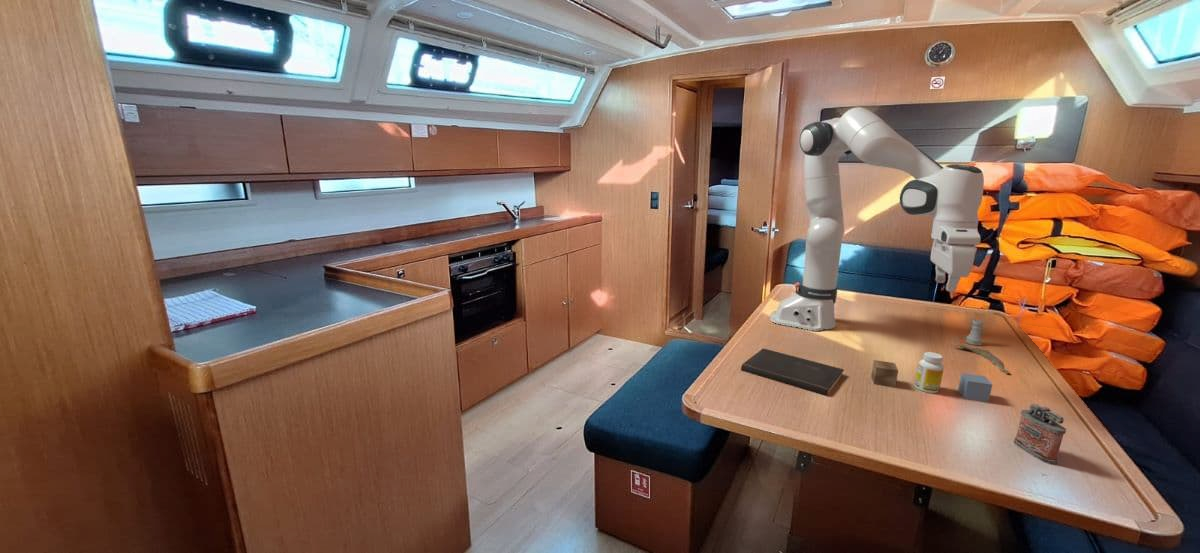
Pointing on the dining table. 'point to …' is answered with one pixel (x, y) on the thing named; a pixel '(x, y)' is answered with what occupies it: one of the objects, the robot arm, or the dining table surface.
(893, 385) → the walnut block
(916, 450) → the dining table surface
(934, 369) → the supplement bottle
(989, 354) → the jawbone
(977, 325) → the rook chess piece
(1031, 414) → the lighter
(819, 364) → the hardcover book
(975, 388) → the slate-blue block
